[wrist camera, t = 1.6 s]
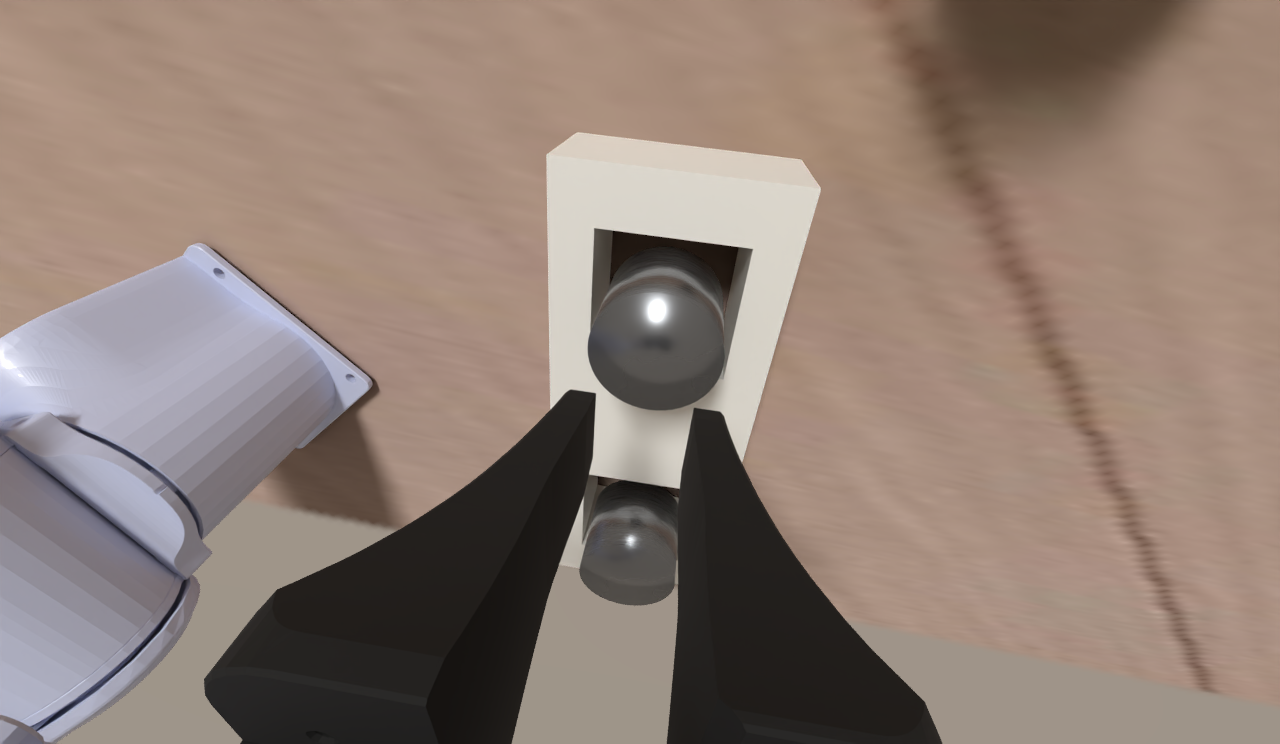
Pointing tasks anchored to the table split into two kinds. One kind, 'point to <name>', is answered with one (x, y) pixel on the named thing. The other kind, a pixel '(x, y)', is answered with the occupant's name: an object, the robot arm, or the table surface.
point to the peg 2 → (632, 544)
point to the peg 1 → (659, 330)
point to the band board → (681, 209)
